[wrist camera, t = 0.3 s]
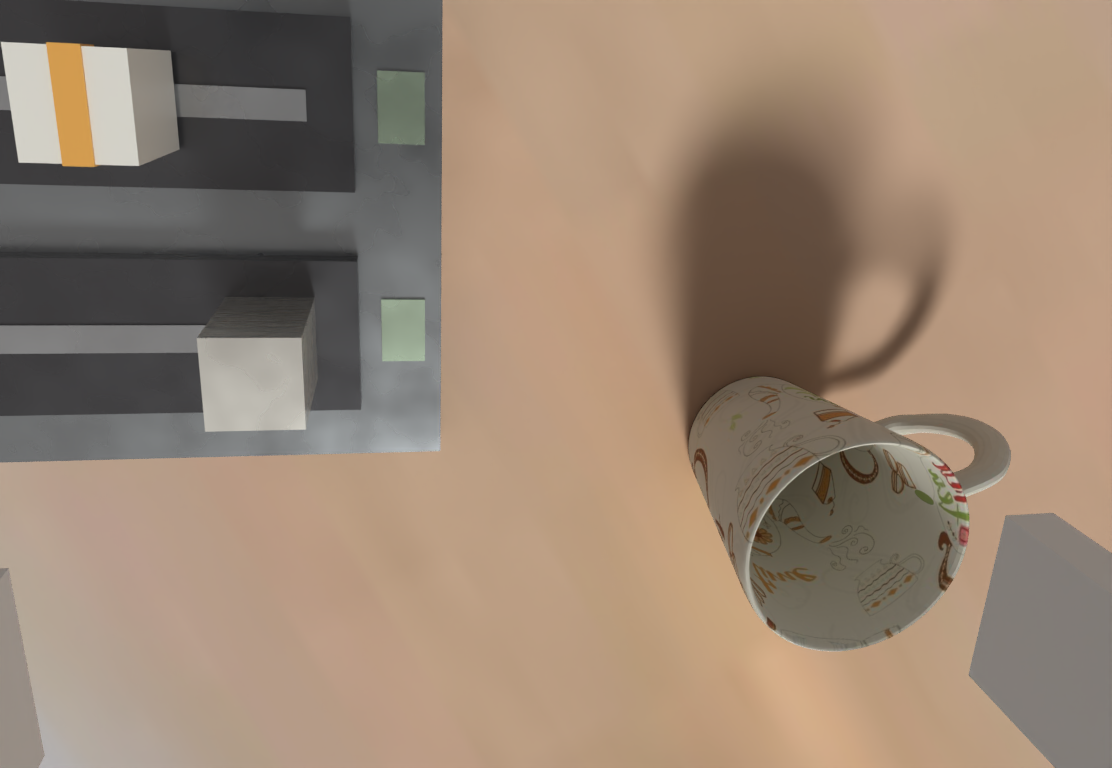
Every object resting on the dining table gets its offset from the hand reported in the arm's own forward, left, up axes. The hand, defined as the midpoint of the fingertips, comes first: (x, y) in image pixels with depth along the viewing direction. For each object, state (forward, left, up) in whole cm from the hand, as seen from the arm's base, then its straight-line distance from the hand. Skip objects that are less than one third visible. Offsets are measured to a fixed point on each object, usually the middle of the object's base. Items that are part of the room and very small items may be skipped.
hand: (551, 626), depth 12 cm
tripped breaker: (-5, -10, -21) cm, 24 cm away
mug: (+8, +16, -25) cm, 30 cm away
